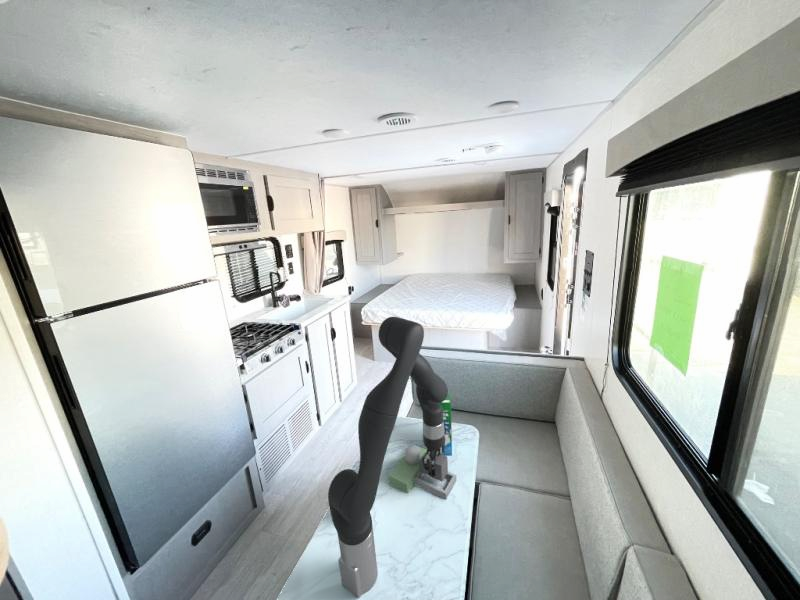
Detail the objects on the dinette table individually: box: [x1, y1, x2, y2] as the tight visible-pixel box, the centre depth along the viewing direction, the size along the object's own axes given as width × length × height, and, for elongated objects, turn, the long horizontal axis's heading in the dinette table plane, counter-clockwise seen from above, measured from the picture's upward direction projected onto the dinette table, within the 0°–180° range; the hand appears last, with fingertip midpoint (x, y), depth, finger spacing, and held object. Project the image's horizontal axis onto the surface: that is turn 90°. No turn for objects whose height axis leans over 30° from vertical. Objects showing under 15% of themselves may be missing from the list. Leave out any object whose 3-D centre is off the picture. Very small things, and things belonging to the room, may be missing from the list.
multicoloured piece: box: [388, 444, 457, 500], centre depth 117 cm, size 18×21×8 cm
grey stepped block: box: [419, 452, 449, 483], centre depth 114 cm, size 9×5×7 cm, turn 56°
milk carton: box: [439, 394, 453, 456], centre depth 129 cm, size 9×9×25 cm
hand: (435, 470), depth 114 cm, fingers closed on grey stepped block, 4 cm apart
